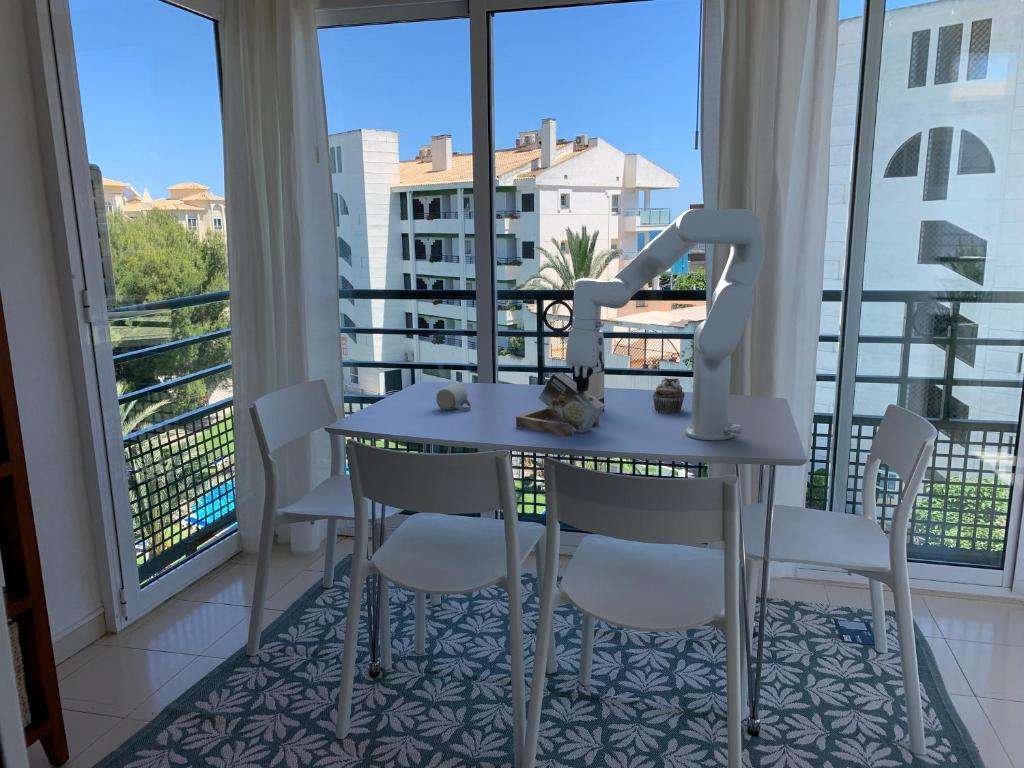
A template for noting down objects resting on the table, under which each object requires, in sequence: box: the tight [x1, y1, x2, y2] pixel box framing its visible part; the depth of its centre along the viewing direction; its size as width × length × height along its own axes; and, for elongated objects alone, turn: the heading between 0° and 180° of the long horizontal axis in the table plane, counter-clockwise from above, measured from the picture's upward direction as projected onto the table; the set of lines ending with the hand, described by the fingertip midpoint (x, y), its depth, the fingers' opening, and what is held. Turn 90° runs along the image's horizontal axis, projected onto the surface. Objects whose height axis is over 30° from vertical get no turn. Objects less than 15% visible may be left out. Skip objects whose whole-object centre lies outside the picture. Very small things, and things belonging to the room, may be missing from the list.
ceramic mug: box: [435, 382, 472, 411], centre depth 237 cm, size 11×8×8 cm
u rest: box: [515, 406, 600, 437], centre depth 214 cm, size 18×15×3 cm
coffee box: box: [538, 371, 606, 434], centre depth 208 cm, size 9×6×16 cm
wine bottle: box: [587, 363, 605, 413], centre depth 230 cm, size 8×8×30 cm
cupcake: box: [652, 377, 685, 414], centre depth 229 cm, size 10×10×10 cm
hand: (582, 390), depth 206 cm, fingers closed
